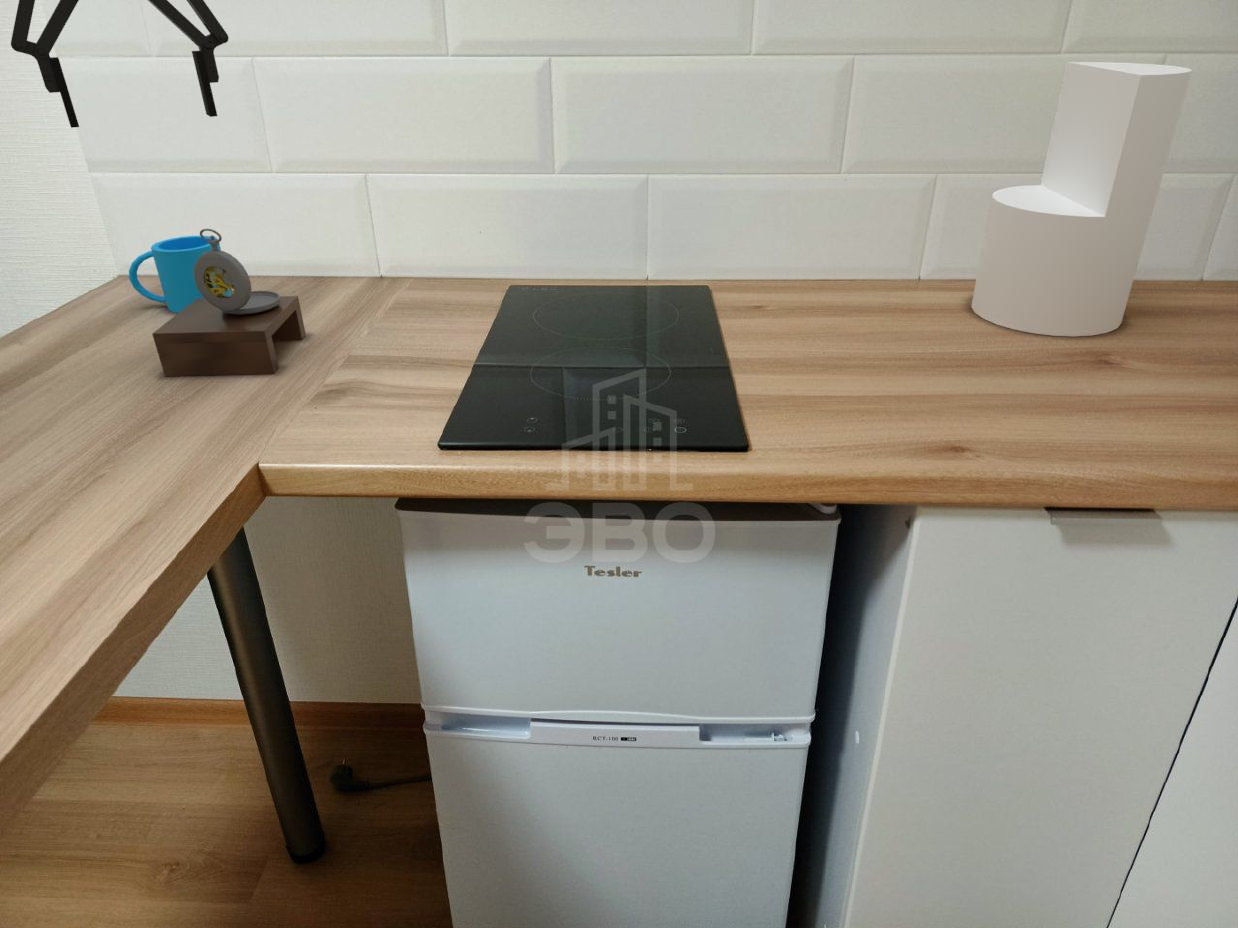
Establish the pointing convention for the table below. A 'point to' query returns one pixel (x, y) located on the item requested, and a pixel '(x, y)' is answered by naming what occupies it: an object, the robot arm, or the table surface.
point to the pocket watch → (229, 282)
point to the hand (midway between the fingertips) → (145, 121)
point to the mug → (174, 270)
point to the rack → (226, 339)
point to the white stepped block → (1082, 204)
